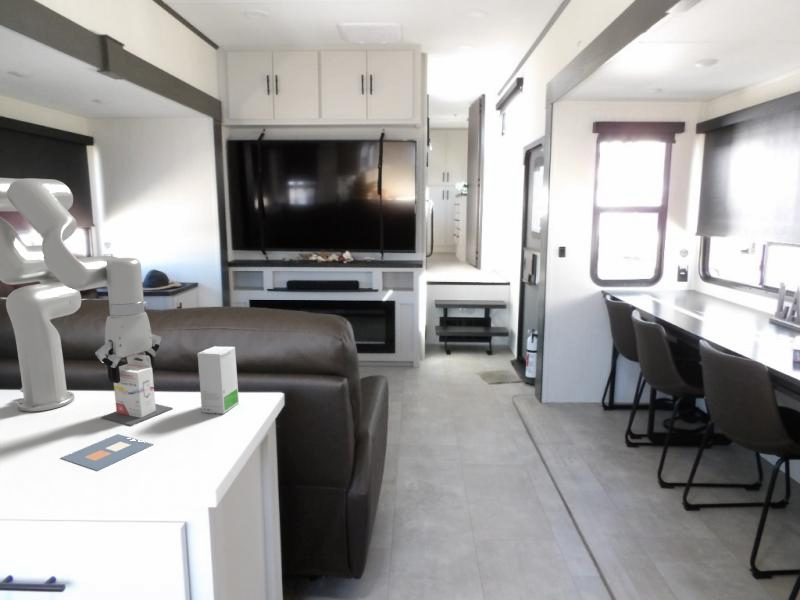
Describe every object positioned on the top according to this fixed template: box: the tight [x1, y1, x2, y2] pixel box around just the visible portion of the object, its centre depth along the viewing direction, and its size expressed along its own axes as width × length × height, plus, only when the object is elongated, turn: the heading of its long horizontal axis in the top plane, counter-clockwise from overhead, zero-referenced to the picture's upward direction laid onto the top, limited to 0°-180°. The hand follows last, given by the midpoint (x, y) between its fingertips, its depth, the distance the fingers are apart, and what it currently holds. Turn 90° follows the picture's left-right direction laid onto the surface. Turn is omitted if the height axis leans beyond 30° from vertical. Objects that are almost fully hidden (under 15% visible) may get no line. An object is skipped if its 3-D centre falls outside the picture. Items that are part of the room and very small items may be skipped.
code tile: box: [60, 433, 154, 472], centre depth 113 cm, size 12×13×1 cm
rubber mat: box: [100, 403, 174, 427], centre depth 134 cm, size 11×12×1 cm
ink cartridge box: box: [113, 353, 156, 418], centre depth 133 cm, size 9×5×15 cm, turn 69°
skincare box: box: [196, 346, 240, 415], centre depth 136 cm, size 8×7×16 cm
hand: (132, 376), depth 132 cm, fingers open, 9 cm apart
